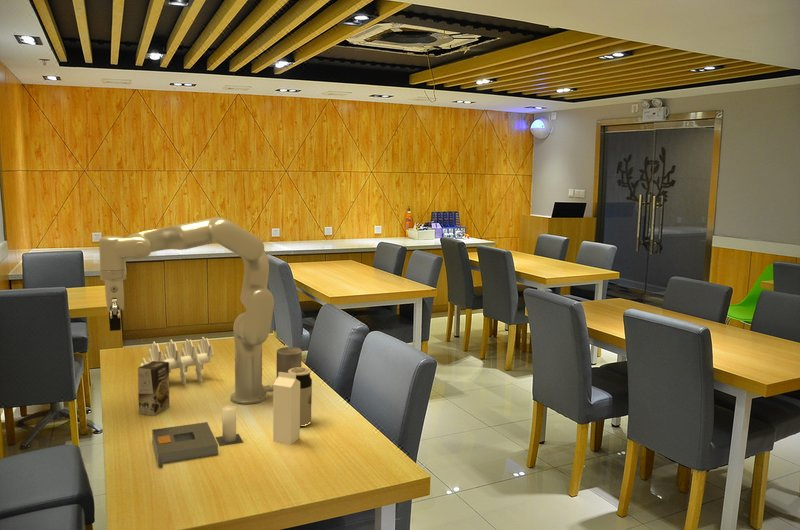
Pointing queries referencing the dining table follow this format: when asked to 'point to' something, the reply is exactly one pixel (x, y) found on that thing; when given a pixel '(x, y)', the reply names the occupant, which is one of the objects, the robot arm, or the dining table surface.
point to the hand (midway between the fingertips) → (115, 326)
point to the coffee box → (153, 387)
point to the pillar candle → (288, 359)
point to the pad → (238, 440)
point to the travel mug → (304, 393)
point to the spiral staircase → (187, 358)
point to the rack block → (183, 443)
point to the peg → (229, 424)
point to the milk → (286, 408)
